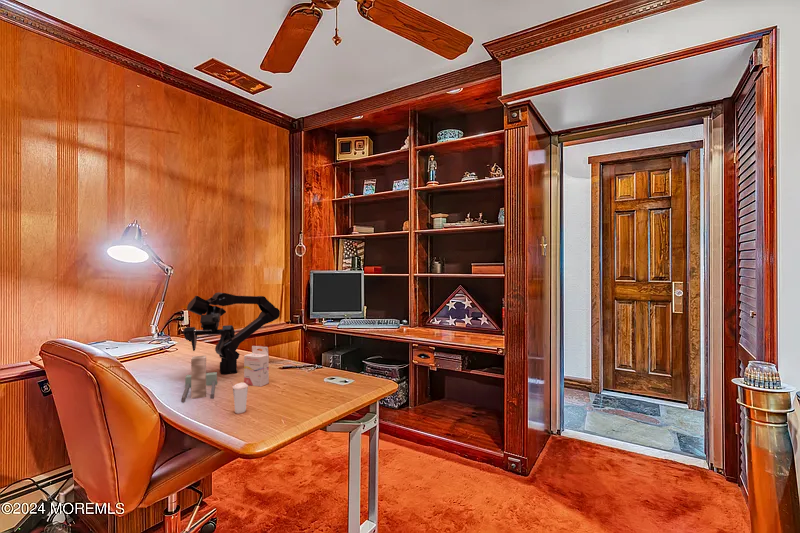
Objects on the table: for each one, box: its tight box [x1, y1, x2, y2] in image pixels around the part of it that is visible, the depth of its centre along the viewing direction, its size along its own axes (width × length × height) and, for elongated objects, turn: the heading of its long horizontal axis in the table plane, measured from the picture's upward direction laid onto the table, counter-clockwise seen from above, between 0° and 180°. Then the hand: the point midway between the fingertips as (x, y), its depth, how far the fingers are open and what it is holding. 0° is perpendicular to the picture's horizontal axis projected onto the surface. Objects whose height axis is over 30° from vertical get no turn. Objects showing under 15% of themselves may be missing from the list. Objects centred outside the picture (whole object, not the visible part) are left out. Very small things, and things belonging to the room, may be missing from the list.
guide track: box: [181, 371, 218, 403], centre depth 147 cm, size 11×22×4 cm, turn 24°
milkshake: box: [230, 380, 249, 415], centre depth 126 cm, size 4×5×10 cm
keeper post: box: [190, 355, 207, 400], centre depth 142 cm, size 4×4×14 cm
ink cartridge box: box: [243, 345, 270, 387], centre depth 156 cm, size 9×5×15 cm, turn 71°
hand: (206, 350), depth 157 cm, fingers open, 9 cm apart
